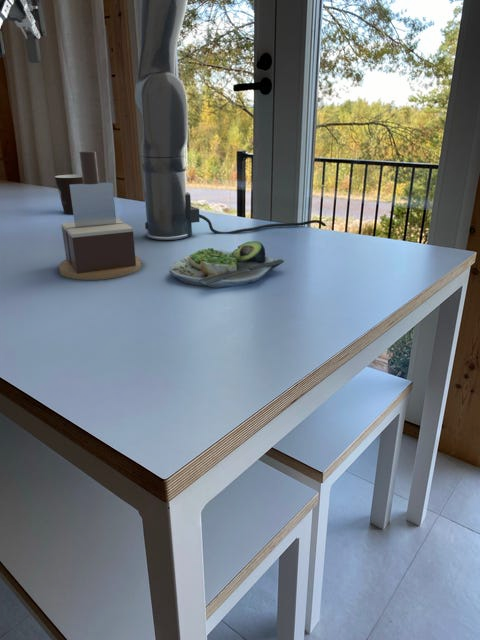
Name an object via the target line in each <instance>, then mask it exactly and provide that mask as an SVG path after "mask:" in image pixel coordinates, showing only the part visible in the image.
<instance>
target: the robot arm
mask: <svg viewBox="0 0 480 640" xmlns="http://www.w3.org/2000/svg"><path fill="white" fill-rule="evenodd" d="M188 1H189V0H140V4H139V5H140V7H139V8H140V9H139V10H140V11H139V12H140V13H139V15H140V22H139V23H140V48H139V49H140V51H139V58H138V68H137V76H136V81H135V88H134V100H135V104H136V107H137V110H138V111H139V113H140V114H141V116H142V127H143V133H142V134H143V137H142V140H141V146H140V147H141V160H142V161H141V162H142V173H143V190H144V199H145V200H144V201H145V214H146V215H145V216H146V222H144V225H145V230H146V231H147V232H146V235H147V238H149V239H151V240H155V241H156V240H157V241H175V240H182V239H185V238H189V237H192V236H193V231H192V230H193V227H192V224H194V223H200V219H202V220H204V221H205V222H206V223H207V224H208V226H209V230H210V231H211V232H212V233H214V234H216V235H217V234H218V235H229V234H230V235H232V234H233V235H234V234H240V233H247V232H253V231H257V230H261V229H265V228H266V229H267V228H274V227H296V226H297V227H298V226H299V227H301V226H306V225H310V224H320V225H321V226H322V227H327V224H326V223H325V222H324V221H322V220H319V219H312V220H311V219H310V220H306V221H302V222H280V223H279V222H277V223H269V224H268V223H267V224H262V225H258V226H253V227H246V228H241V229H240V228H239V229H236V230H230V231H219V230H216V229H215V228H214V227H213V224H212V221H211V220H210V219H209V218H208V217H206V216H204V215H203V214H200V209H199V208H198V207H195V206H192V199H191V197H192V196H191V193H190V192H188V184H187V183H188V181H187V161H186V149H187V143H188V137H189V134H188V133H189V131H188V130H189V129H188V127H189V125H188V119H189V118H188V112H189V111H188V98H187V97H188V96H187V91H186V88H185V86H184V83H183V82H182V81H181V79H180V78H179V77H178V76H177V75H176V56H177V55H176V54H177V47H178V42H179V39H180V35H181V32H182V29H183V24H184V20H185V16H186V12H187V9H188V3H189V2H188ZM44 15H45V14H44V10H43V5H42V0H0V29H1V28H2V26H3V23H4V21H5V20H8V21H11V22H14V24H15V25H16V27H17V28H19V29H20V30H21V32H22V34H23V35H24V38H25V39H24V42H25V49H26V53H27V54H26V55H27V60H28V62H29V63H30V64H31V63H32V64H39V63H41V60H42V59H41V58H42V55H41V54H42V53H41V49H40V47H41V46H40V39H41V38H43V37H47V34H48V33H47V28H46V21H45V16H44ZM37 22H38V23H37ZM37 24H38V26H37ZM37 27H38V28H37ZM5 57H6V50H5V44H4V37H3V31H2V30H0V58H5Z"/></svg>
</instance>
